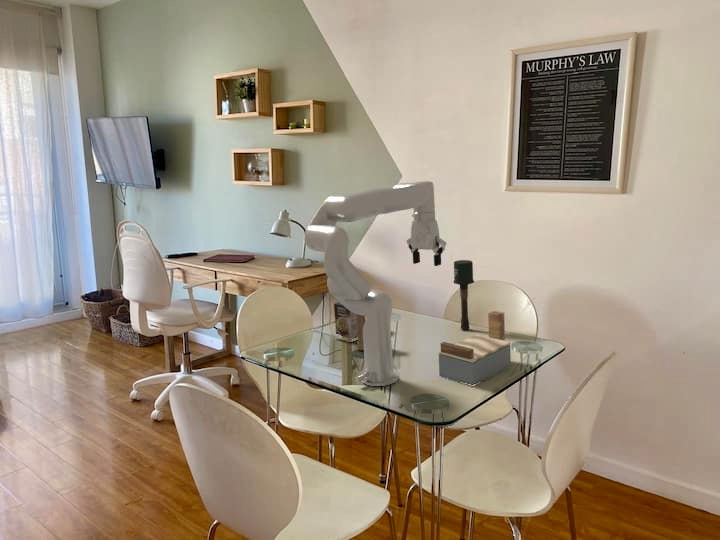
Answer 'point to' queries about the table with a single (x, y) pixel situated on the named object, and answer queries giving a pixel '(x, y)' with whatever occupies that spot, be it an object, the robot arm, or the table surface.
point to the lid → (473, 348)
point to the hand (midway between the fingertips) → (427, 264)
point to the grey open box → (474, 367)
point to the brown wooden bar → (496, 325)
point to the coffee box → (345, 321)
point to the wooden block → (360, 331)
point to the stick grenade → (463, 287)
